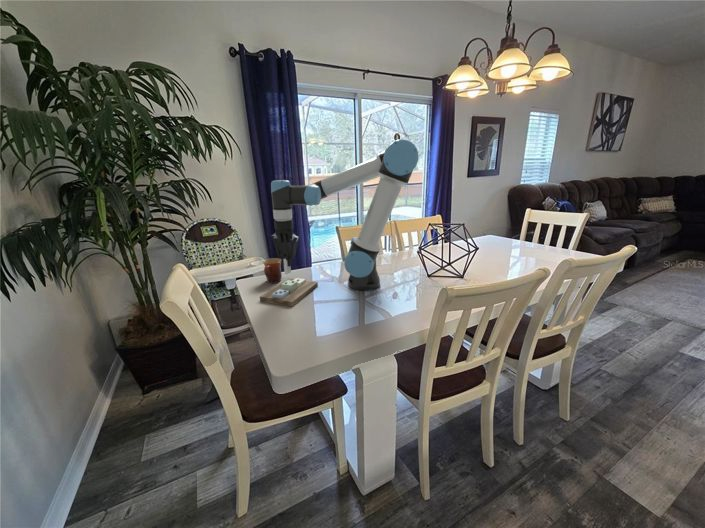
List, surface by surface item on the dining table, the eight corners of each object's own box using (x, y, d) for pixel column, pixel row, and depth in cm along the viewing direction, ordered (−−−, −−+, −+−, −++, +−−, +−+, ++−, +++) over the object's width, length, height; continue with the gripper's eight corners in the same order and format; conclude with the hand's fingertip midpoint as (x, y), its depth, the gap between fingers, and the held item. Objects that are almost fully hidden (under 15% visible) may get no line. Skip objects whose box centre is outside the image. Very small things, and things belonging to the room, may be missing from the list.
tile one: (306, 285, 136) (305, 278, 135) (300, 289, 132) (300, 282, 131) (296, 284, 138) (296, 277, 137) (291, 288, 133) (290, 281, 132)
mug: (270, 276, 149) (268, 257, 145) (286, 277, 147) (284, 258, 144) (258, 285, 137) (256, 265, 134) (275, 286, 136) (273, 266, 132)
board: (317, 286, 136) (317, 282, 135) (292, 306, 116) (292, 302, 116) (288, 281, 141) (288, 278, 140) (260, 300, 122) (259, 296, 121)
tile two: (298, 287, 129) (297, 280, 128) (291, 292, 125) (291, 284, 124) (288, 286, 131) (287, 279, 130) (282, 290, 127) (281, 283, 126)
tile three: (289, 297, 124) (289, 290, 123) (283, 302, 119) (282, 294, 118) (280, 295, 126) (279, 288, 124) (273, 300, 121) (272, 293, 120)
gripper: (301, 218, 119) (305, 271, 127) (275, 216, 123) (280, 268, 131) (291, 221, 112) (296, 277, 120) (264, 219, 117) (270, 273, 125)
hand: (287, 272), depth 126 cm, fingers closed
